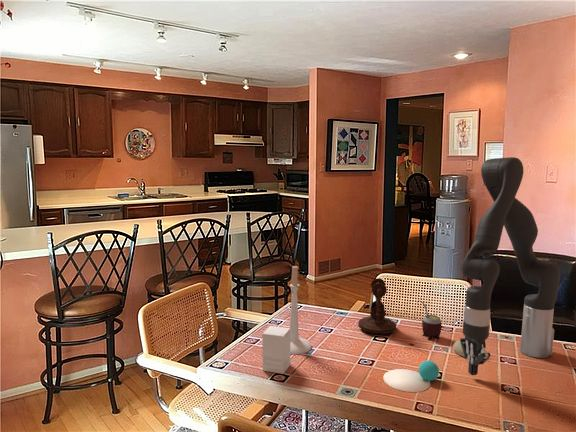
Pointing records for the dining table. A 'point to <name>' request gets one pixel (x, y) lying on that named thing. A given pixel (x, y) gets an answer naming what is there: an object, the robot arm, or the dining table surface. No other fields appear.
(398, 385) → the white disc
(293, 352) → the candlestick
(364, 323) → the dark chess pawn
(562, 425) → the dining table surface
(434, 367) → the ball
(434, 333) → the mate gourd
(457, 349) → the sea urchin shell
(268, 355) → the supplement box
